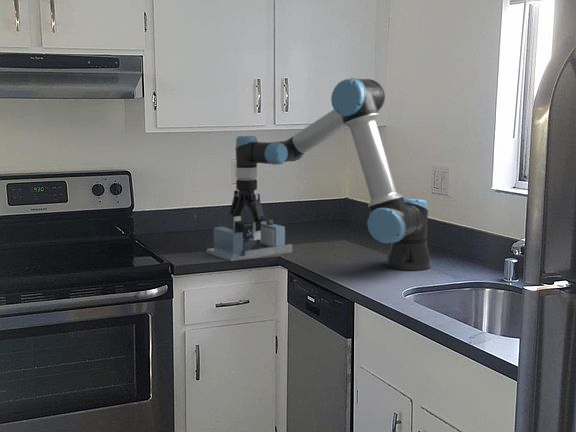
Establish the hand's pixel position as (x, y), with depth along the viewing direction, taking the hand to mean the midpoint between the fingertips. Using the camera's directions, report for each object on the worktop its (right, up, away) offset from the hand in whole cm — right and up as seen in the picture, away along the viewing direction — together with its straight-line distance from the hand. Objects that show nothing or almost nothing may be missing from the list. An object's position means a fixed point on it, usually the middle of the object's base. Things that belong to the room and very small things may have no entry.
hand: (247, 236), depth 272 cm
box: (0, -5, +1) cm, 5 cm away
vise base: (+1, -6, +1) cm, 6 cm away
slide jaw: (+8, -3, +6) cm, 11 cm away
